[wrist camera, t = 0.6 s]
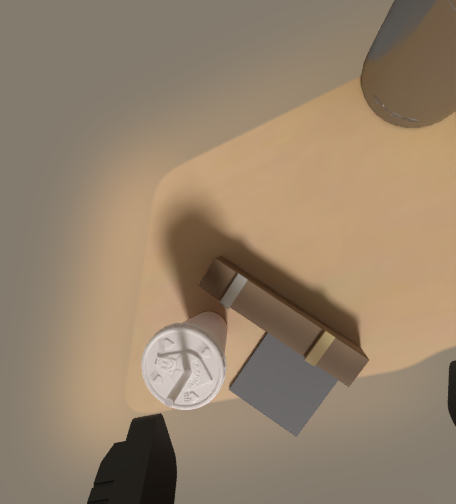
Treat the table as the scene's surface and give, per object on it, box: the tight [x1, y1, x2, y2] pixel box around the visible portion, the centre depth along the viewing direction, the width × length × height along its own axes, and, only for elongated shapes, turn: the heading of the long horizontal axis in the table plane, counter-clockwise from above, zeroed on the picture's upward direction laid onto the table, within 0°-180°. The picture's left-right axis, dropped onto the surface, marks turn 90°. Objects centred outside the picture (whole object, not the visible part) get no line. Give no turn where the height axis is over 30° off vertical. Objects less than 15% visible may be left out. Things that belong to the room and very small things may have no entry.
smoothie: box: [141, 311, 227, 410], centre depth 27 cm, size 6×6×14 cm
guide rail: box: [198, 256, 369, 387], centre depth 31 cm, size 3×16×3 cm, turn 57°
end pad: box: [229, 333, 338, 436], centre depth 33 cm, size 8×8×1 cm
